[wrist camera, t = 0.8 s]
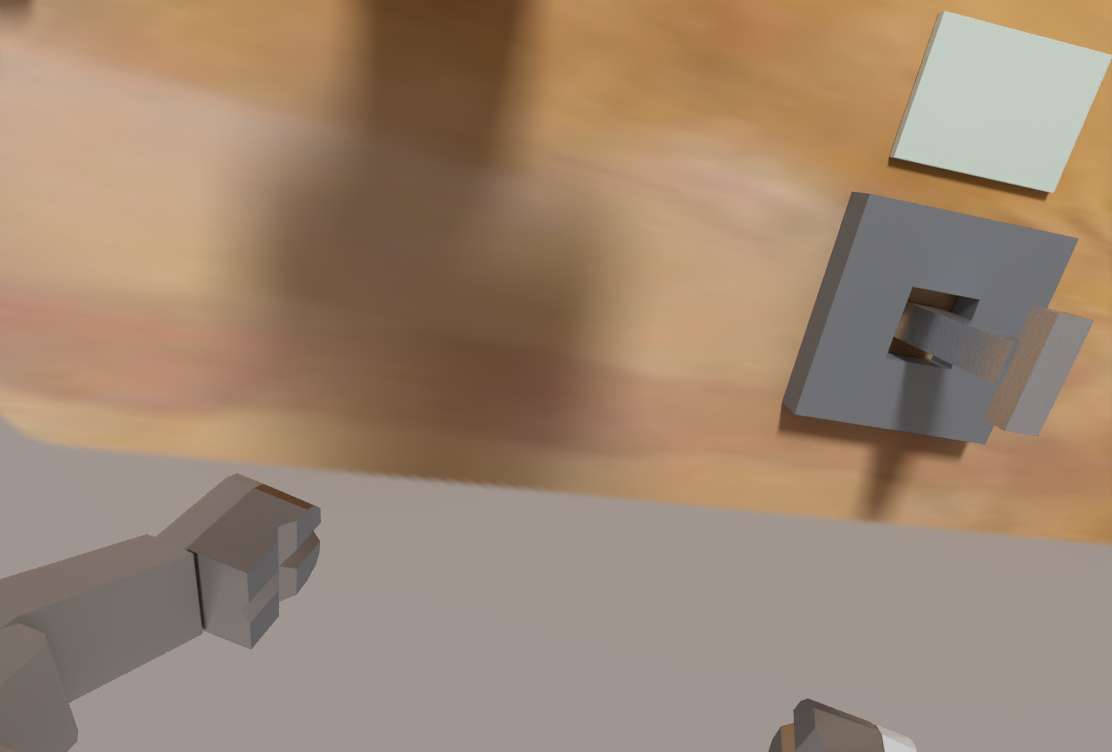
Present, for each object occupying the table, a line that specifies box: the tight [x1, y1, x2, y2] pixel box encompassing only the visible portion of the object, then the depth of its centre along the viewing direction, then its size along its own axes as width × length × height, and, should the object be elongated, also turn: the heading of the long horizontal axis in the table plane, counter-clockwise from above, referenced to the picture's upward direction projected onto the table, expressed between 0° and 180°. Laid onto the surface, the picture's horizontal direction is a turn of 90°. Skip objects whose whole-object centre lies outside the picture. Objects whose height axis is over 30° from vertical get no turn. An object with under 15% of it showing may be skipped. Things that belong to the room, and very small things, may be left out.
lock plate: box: [782, 192, 1078, 444], centre depth 52 cm, size 18×18×2 cm
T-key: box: [894, 302, 1094, 436], centre depth 47 cm, size 8×3×14 cm, turn 169°
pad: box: [889, 11, 1112, 193], centre depth 48 cm, size 10×14×1 cm
